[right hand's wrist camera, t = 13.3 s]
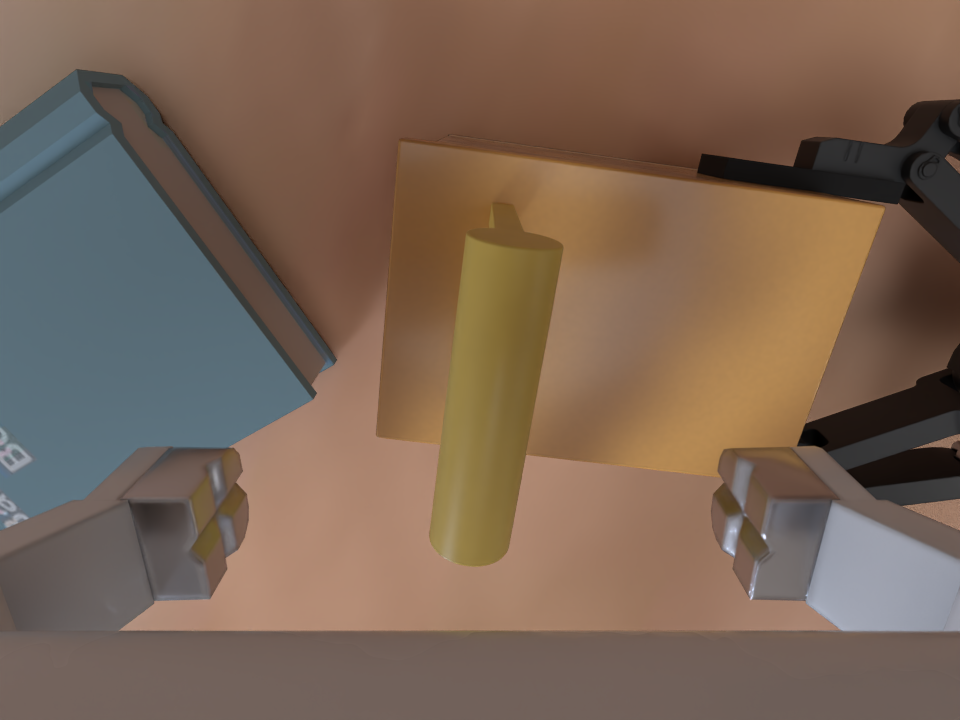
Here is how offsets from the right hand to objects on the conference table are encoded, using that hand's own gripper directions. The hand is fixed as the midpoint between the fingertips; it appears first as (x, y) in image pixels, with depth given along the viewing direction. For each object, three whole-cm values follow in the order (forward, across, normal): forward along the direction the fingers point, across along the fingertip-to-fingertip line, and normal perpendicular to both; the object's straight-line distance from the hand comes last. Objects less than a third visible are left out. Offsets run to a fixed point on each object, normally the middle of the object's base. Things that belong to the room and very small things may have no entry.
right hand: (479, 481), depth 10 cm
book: (+22, +22, +5) cm, 31 cm away
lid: (+11, -4, +1) cm, 12 cm away
